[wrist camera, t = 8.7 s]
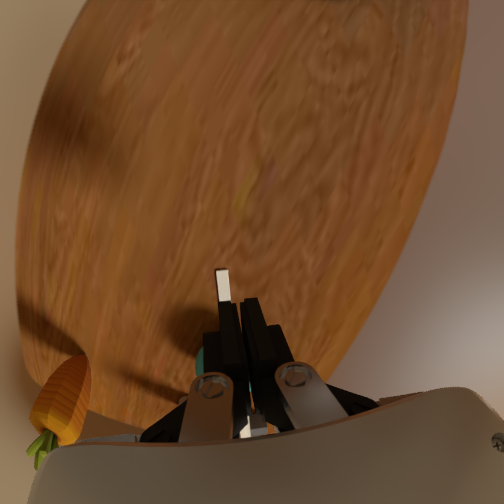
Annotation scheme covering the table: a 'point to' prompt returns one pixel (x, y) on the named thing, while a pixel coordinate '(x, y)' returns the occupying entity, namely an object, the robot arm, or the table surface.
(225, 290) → the lane line
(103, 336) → the table surface
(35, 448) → the carrot
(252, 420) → the wall
